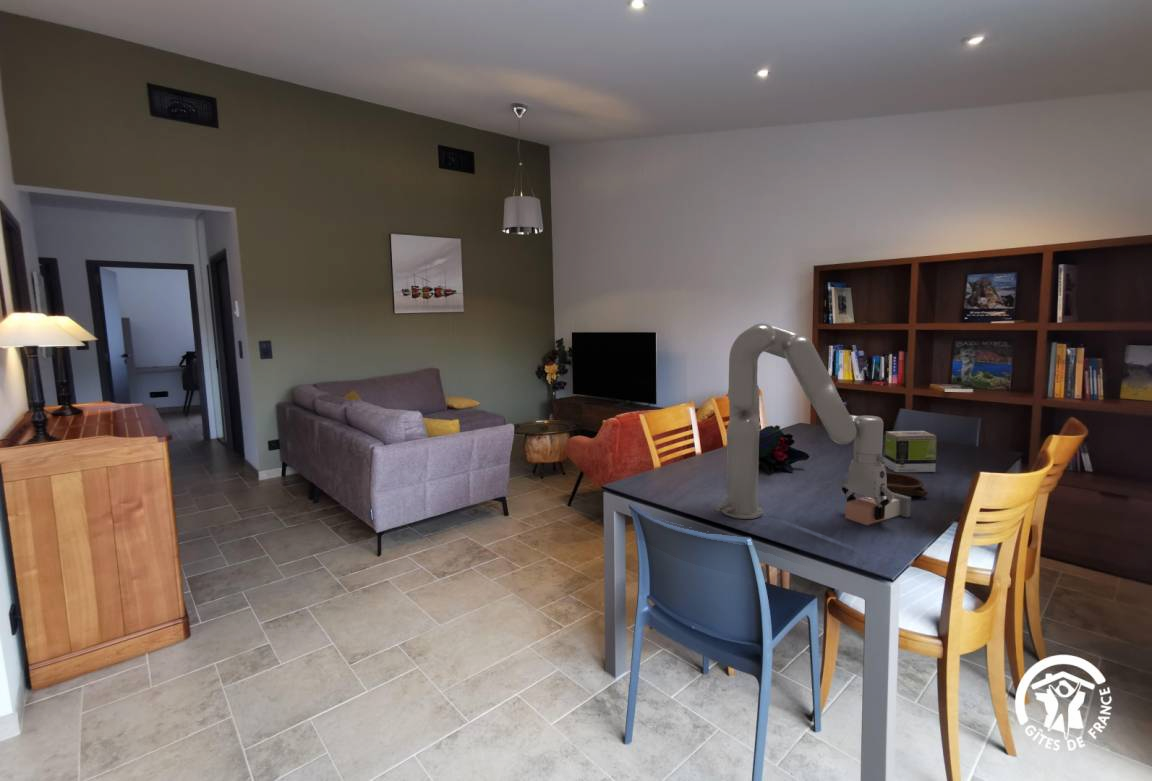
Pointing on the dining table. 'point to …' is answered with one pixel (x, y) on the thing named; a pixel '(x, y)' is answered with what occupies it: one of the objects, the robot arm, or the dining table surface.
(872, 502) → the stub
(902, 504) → the white block
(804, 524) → the dining table surface
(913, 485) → the dish
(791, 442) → the decorative plant
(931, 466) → the tea box
